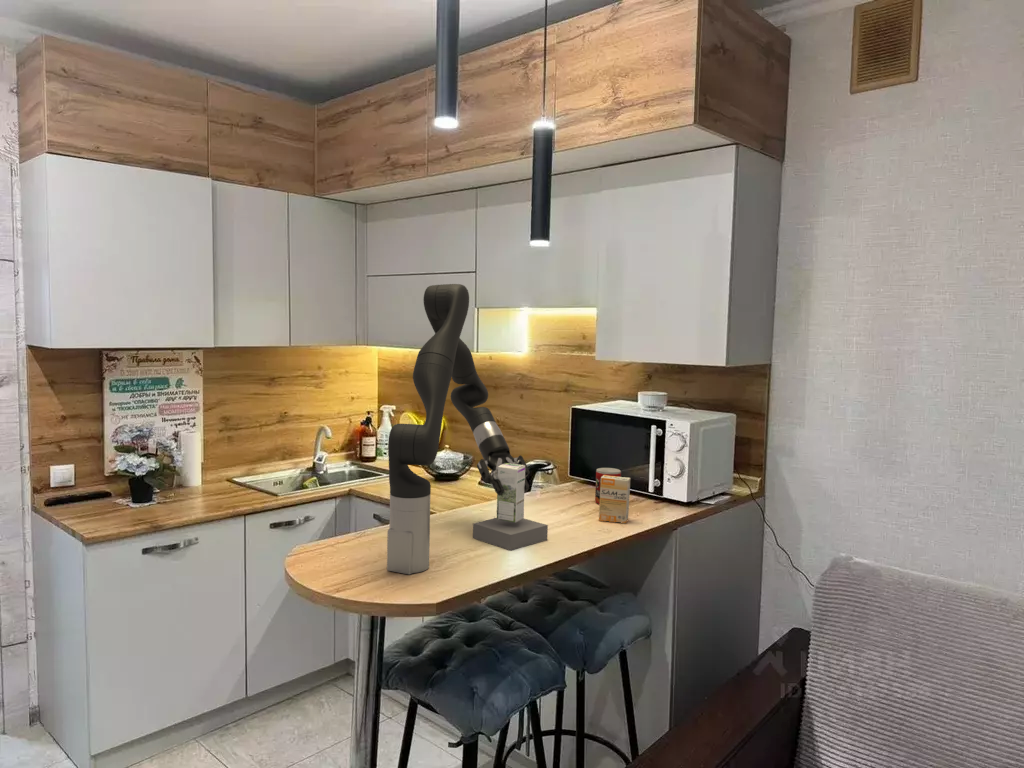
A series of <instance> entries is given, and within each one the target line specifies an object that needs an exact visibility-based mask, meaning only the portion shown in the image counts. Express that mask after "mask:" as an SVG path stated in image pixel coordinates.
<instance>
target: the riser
mask: <svg viewBox="0 0 1024 768" xmlns="http://www.w3.org/2000/svg"><path fill="white" fill-rule="evenodd" d="M548 527H549V525H548V524H545V523H542V522H537V521H535V520H531V519H528V518H525V517H524V518H523V519H521V520H519V521H518V522H509V521H503V520H497V517H494V518H490V519H486V520H485V519H484V520H481V521H477V522H473V523H472V539H475V540H477V541H481V542H483V543H486V544H490V545H492V546H496V547H499V548H502V549H505V550H508V551H512V550H513V551H514V550H517V549H520V548H523V547H527V546H532V545H535V544H537V543H541V542H545V541H548V533H549V532H548Z"/></svg>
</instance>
